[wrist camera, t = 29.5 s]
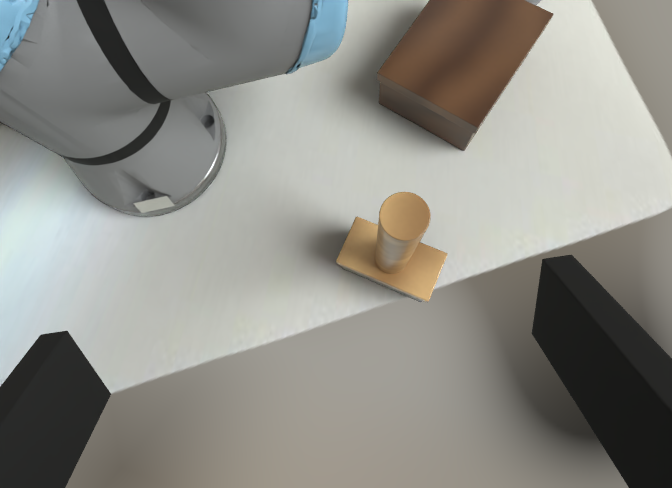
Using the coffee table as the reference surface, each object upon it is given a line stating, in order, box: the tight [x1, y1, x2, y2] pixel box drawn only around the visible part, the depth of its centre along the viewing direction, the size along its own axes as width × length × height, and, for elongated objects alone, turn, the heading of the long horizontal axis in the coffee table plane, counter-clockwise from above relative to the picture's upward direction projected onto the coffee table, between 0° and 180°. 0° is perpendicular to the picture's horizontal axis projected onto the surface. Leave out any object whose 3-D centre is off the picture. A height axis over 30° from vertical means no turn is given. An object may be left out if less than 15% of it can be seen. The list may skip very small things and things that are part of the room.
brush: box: [336, 192, 447, 302], centre depth 31 cm, size 8×4×16 cm, turn 66°
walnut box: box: [377, 0, 553, 151], centre depth 40 cm, size 11×13×5 cm
